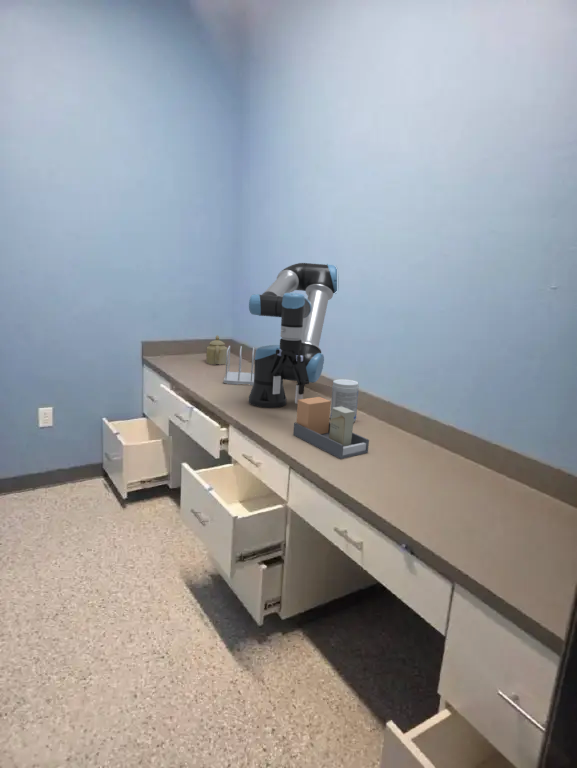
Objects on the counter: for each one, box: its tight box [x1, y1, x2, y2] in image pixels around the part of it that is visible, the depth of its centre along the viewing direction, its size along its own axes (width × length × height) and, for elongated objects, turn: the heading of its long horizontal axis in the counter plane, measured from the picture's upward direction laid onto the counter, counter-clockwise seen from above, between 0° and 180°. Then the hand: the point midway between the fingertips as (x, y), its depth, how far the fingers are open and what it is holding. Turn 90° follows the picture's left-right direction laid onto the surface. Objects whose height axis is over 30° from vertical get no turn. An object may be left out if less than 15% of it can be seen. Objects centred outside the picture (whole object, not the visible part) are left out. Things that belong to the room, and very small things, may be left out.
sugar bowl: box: [206, 334, 228, 365], centre depth 278 cm, size 15×11×15 cm
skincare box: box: [329, 406, 355, 447], centre depth 164 cm, size 6×4×12 cm
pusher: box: [296, 396, 331, 434], centre depth 175 cm, size 6×9×11 cm, turn 126°
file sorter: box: [223, 345, 255, 386], centre depth 245 cm, size 25×17×16 cm
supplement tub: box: [330, 378, 359, 423], centre depth 194 cm, size 10×10×15 cm
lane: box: [292, 421, 370, 460], centre depth 169 cm, size 24×11×4 cm, turn 36°
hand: (287, 398), depth 186 cm, fingers open, 13 cm apart
